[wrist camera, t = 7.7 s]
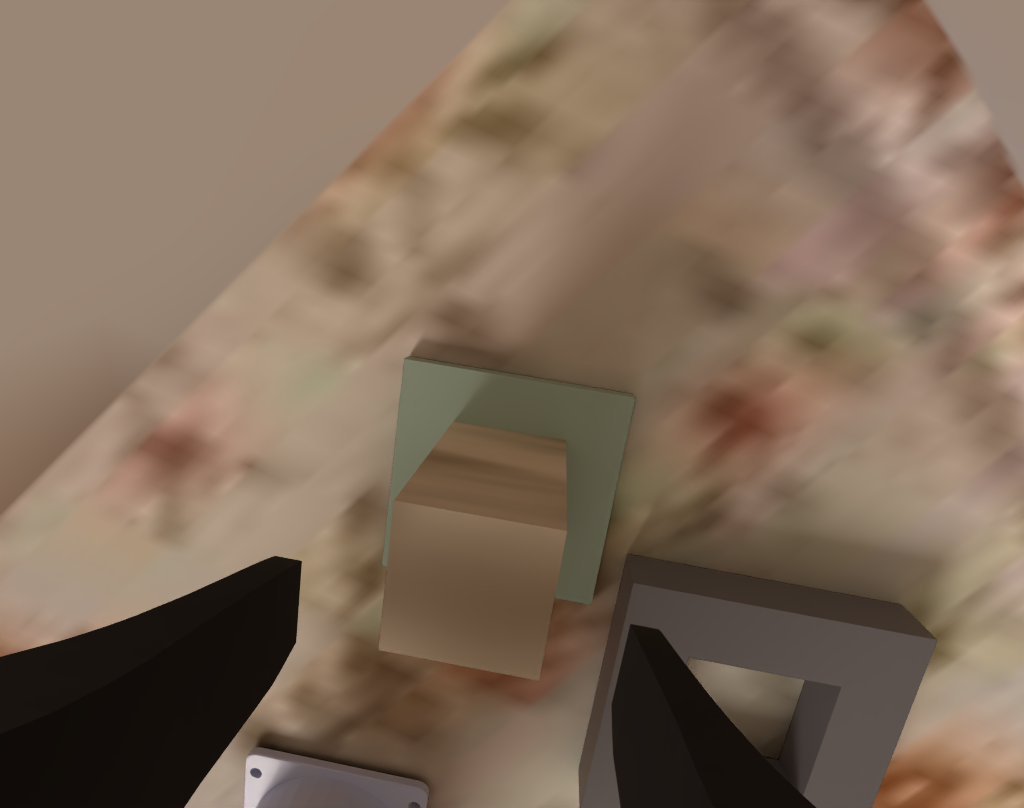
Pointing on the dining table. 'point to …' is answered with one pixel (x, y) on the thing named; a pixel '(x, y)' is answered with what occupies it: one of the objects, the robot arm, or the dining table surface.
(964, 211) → the dining table surface
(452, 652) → the beech block
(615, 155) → the dining table surface
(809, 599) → the pocket plate
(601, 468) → the green mat
